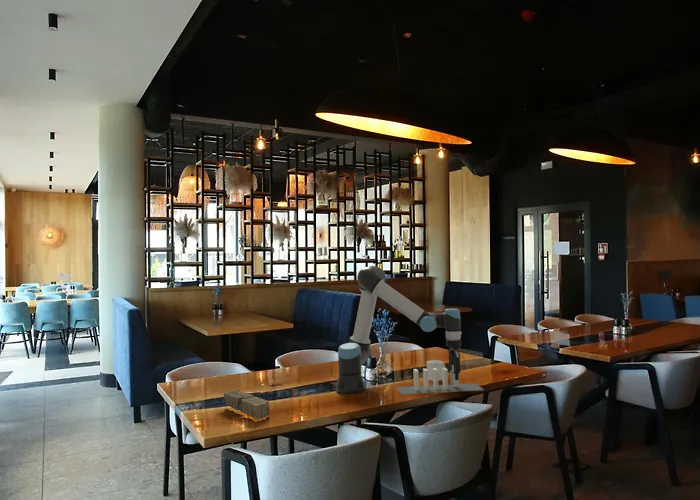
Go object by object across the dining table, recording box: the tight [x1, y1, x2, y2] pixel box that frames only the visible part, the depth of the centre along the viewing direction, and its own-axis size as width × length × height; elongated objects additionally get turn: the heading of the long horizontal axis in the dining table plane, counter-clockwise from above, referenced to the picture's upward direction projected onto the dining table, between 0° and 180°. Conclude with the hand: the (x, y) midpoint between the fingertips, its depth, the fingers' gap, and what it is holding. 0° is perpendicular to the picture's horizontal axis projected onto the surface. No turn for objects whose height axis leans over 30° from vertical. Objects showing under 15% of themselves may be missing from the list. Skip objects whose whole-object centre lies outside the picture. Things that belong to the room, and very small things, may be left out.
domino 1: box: [413, 368, 420, 391], centre depth 272 cm, size 2×5×10 cm, turn 5°
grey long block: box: [223, 389, 270, 419], centre depth 242 cm, size 8×8×29 cm
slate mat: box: [396, 382, 485, 395], centre depth 273 cm, size 42×14×1 cm, turn 95°
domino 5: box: [452, 365, 454, 385], centre depth 274 cm, size 2×5×10 cm, turn 5°
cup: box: [426, 359, 446, 382], centre depth 294 cm, size 8×12×10 cm
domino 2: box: [422, 368, 430, 391], centre depth 272 cm, size 2×5×10 cm, turn 5°
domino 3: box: [432, 368, 439, 390], centre depth 273 cm, size 2×5×10 cm, turn 5°
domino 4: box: [441, 367, 449, 390], centre depth 273 cm, size 2×5×10 cm, turn 4°
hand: (455, 384), depth 274 cm, fingers closed on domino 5, 5 cm apart
